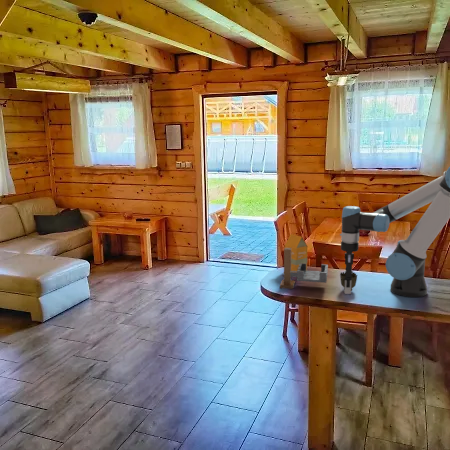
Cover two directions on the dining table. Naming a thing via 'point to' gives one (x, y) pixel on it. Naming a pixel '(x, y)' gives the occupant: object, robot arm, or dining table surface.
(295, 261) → the orange juice
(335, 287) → the dining table surface
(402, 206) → the robot arm
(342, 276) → the cup
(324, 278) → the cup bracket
